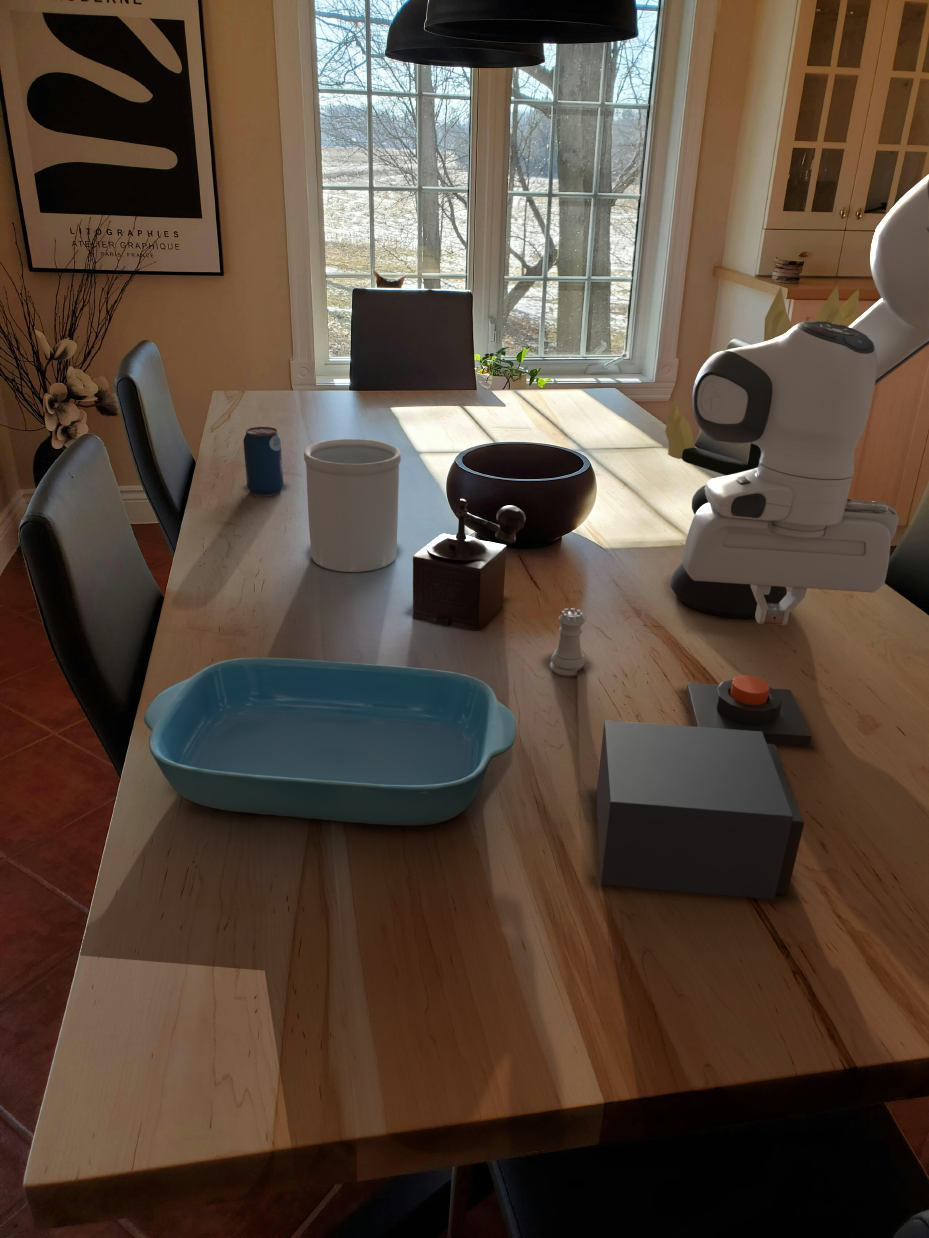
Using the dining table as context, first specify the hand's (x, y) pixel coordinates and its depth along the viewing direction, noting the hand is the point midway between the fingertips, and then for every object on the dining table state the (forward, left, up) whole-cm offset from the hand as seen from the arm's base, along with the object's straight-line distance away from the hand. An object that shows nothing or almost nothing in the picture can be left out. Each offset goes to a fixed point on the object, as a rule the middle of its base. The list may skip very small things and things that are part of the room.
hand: (770, 622), depth 95 cm
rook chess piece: (+20, -12, -14) cm, 27 cm away
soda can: (+78, -75, -14) cm, 109 cm away
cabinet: (+10, +21, -14) cm, 27 cm away
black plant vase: (-5, -36, -14) cm, 39 cm away
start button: (0, -2, -10) cm, 10 cm away
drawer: (+8, +21, -13) cm, 26 cm away
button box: (0, -2, -14) cm, 14 cm away
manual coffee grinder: (+33, -26, -14) cm, 44 cm away
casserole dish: (+44, +13, -14) cm, 48 cm away
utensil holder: (+54, -45, -14) cm, 72 cm away
